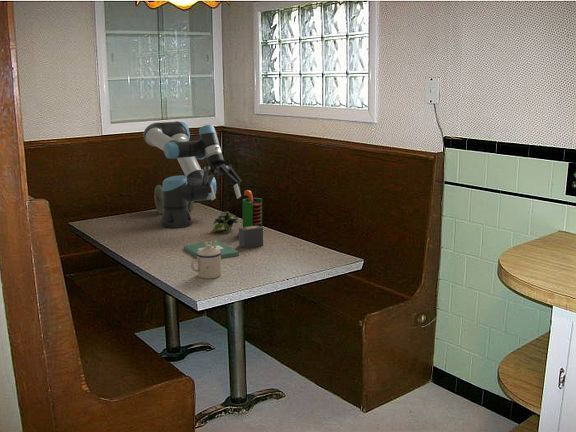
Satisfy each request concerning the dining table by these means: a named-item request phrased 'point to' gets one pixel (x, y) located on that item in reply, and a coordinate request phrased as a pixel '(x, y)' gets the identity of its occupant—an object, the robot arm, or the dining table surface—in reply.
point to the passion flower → (225, 221)
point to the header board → (224, 249)
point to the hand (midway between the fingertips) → (226, 198)
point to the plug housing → (251, 236)
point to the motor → (252, 210)
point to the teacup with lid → (208, 262)
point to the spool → (159, 200)
